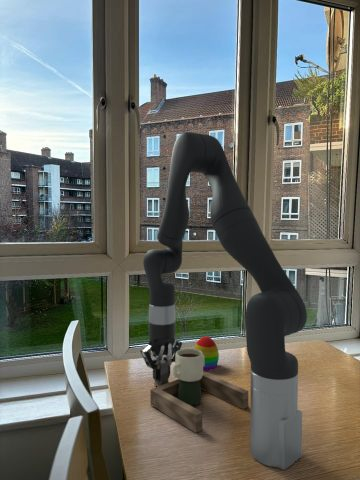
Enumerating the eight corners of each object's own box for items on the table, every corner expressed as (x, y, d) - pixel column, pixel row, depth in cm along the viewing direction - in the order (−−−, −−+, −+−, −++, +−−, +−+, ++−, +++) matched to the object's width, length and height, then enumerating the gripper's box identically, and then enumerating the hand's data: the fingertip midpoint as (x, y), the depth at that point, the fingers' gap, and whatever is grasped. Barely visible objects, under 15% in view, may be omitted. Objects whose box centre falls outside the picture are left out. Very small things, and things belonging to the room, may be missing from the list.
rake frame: (248, 406, 97) (248, 379, 96) (196, 432, 85) (195, 402, 85) (182, 375, 116) (182, 352, 116) (132, 393, 105) (131, 368, 104)
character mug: (194, 390, 106) (194, 344, 105) (213, 399, 101) (213, 351, 100) (164, 403, 99) (164, 354, 98) (183, 414, 94) (183, 362, 93)
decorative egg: (189, 370, 121) (189, 339, 120) (198, 361, 128) (198, 331, 127) (214, 374, 117) (214, 342, 117) (221, 364, 125) (221, 334, 124)
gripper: (149, 327, 100) (149, 391, 102) (189, 318, 109) (188, 376, 111) (133, 321, 106) (133, 381, 108) (172, 312, 115) (172, 368, 117)
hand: (161, 378), depth 109 cm, fingers closed on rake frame, 2 cm apart
